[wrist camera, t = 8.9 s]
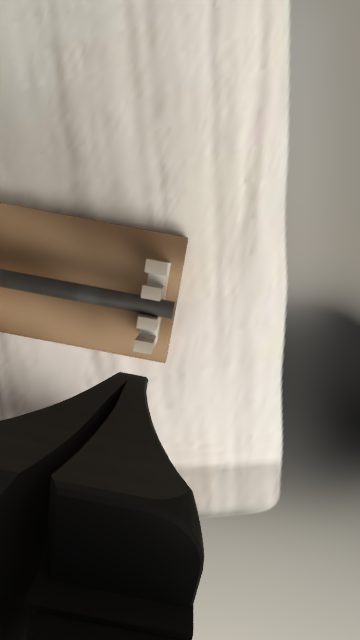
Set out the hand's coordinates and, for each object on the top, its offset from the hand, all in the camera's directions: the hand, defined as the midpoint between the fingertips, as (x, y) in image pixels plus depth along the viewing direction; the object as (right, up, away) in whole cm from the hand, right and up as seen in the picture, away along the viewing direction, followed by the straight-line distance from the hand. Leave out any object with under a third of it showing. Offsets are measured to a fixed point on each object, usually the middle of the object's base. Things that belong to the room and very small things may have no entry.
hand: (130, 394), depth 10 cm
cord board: (-12, +8, +9) cm, 17 cm away
